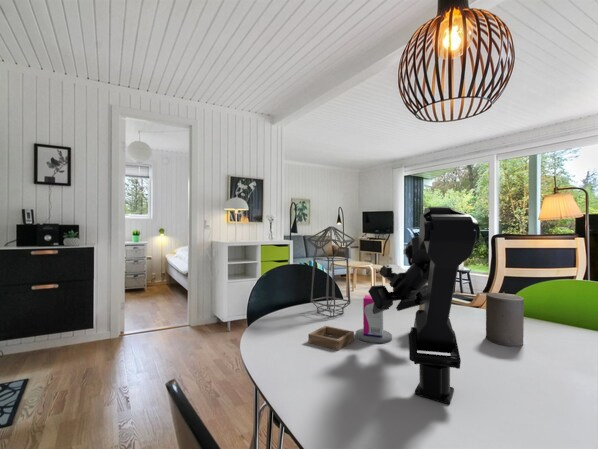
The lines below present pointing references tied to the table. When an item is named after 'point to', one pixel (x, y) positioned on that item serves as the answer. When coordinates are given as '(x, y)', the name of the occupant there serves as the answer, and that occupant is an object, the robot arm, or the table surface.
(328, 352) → the table surface
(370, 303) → the supplement box
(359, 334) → the slate pad
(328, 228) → the geometric lantern
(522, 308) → the pillar candle
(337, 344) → the wooden tray
